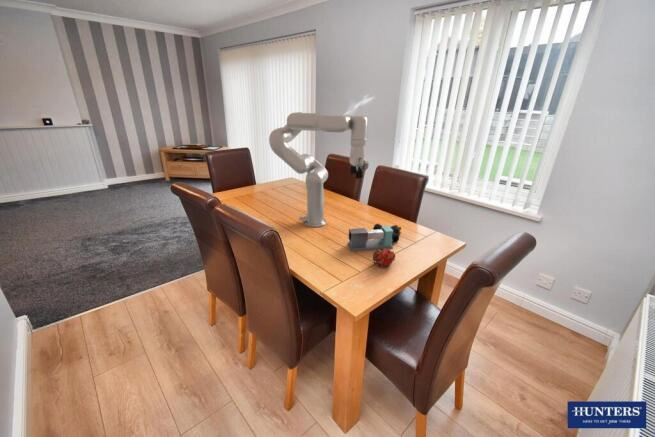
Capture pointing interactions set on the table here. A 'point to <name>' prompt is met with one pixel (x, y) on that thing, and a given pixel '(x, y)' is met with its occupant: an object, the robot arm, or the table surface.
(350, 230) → the outer sleeve
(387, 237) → the socket block
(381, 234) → the inner tube
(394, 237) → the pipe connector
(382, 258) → the dragon fruit
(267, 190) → the table surface
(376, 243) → the base board
